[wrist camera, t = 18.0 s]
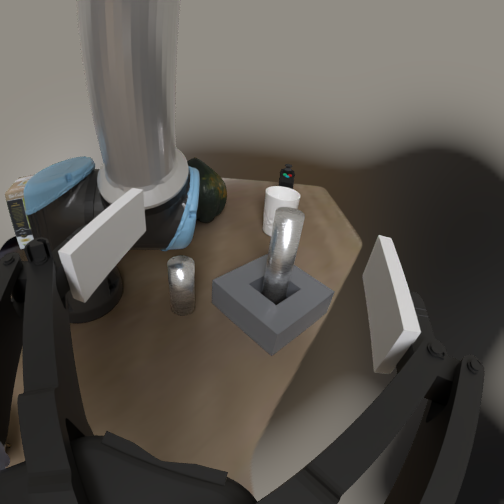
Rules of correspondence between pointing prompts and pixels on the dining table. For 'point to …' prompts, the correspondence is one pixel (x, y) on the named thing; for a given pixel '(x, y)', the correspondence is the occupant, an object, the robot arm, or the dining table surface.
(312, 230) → the dining table surface
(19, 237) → the tea box
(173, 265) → the short steel pin
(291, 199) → the white cup
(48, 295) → the robot arm
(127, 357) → the dining table surface
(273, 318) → the charcoal collar block
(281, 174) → the controller
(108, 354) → the dining table surface
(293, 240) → the long steel pin
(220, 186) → the squash
